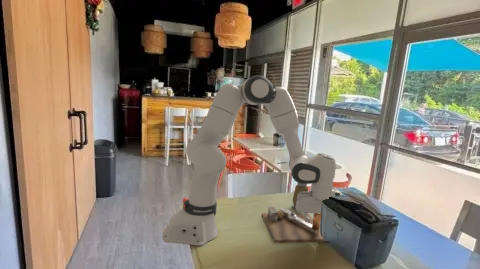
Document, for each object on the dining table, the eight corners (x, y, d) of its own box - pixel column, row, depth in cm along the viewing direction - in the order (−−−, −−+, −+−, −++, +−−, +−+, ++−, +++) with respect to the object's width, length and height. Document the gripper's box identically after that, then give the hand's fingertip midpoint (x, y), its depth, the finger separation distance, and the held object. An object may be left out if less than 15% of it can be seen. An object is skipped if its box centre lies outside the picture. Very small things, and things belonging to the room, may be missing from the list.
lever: (315, 235, 113) (317, 216, 111) (277, 214, 129) (279, 197, 128) (321, 232, 116) (323, 213, 114) (283, 212, 132) (285, 195, 130)
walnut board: (274, 242, 108) (275, 230, 107) (261, 215, 130) (262, 204, 129) (329, 241, 112) (331, 229, 111) (307, 215, 134) (309, 205, 133)
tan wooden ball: (276, 220, 124) (277, 213, 124) (274, 216, 128) (275, 209, 127) (283, 220, 125) (284, 213, 124) (281, 216, 128) (282, 209, 128)
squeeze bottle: (310, 209, 142) (314, 177, 138) (299, 212, 137) (303, 179, 134) (299, 203, 148) (302, 172, 145) (288, 205, 144) (292, 174, 140)
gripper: (300, 194, 108) (296, 225, 110) (346, 194, 111) (342, 225, 113) (295, 188, 114) (291, 217, 116) (339, 189, 117) (334, 217, 119)
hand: (317, 221), depth 115 cm, fingers open, 8 cm apart
